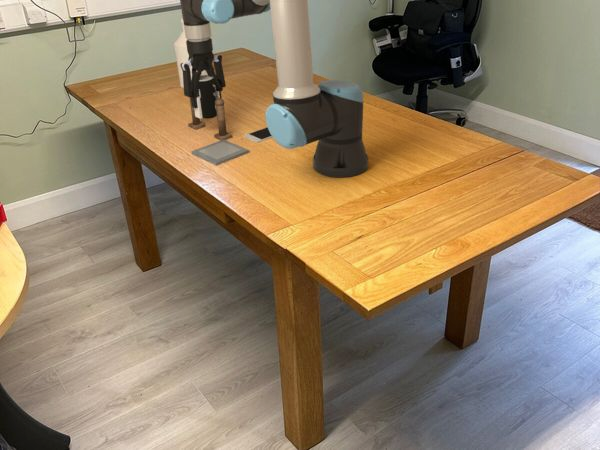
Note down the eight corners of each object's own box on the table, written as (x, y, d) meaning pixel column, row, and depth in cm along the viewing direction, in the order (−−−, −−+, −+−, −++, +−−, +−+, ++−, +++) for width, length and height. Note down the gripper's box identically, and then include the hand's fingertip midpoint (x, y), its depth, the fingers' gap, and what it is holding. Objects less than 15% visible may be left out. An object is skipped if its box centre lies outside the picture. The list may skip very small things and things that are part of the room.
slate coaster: (249, 152, 171) (249, 149, 171) (216, 165, 164) (216, 162, 164) (224, 141, 179) (223, 139, 178) (191, 153, 172) (191, 151, 171)
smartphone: (242, 137, 182) (242, 135, 181) (281, 124, 191) (281, 122, 190) (256, 144, 177) (256, 141, 177) (295, 130, 186) (295, 127, 185)
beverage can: (215, 119, 180) (210, 80, 174) (195, 119, 181) (189, 80, 175) (222, 112, 185) (217, 74, 179) (202, 111, 186) (197, 74, 180)
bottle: (207, 88, 224) (199, 21, 212) (177, 89, 225) (167, 22, 212) (212, 79, 235) (204, 14, 222) (182, 80, 235) (173, 15, 222)
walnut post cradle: (232, 137, 182) (228, 97, 175) (222, 141, 179) (217, 101, 173) (198, 123, 193) (193, 85, 187) (188, 126, 191) (183, 88, 184)
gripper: (217, 30, 179) (226, 103, 191) (163, 43, 168) (175, 120, 179) (232, 33, 175) (240, 108, 186) (177, 46, 163) (189, 125, 175)
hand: (208, 114), depth 183 cm, fingers closed on beverage can, 7 cm apart
